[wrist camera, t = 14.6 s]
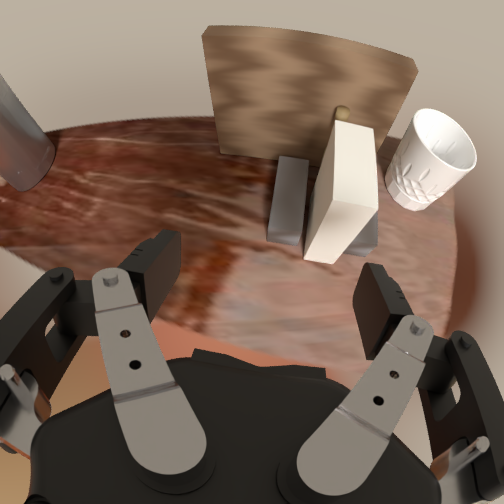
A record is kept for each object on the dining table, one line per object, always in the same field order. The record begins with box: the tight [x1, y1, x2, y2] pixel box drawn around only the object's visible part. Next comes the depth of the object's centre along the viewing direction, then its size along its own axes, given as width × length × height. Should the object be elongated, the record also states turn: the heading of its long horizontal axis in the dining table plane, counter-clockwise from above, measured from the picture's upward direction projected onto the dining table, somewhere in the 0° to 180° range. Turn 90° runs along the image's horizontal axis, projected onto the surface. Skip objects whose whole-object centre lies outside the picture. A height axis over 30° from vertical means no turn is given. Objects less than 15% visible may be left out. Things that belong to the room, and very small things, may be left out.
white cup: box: [385, 108, 477, 211], centre depth 26 cm, size 8×8×10 cm
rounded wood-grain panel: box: [202, 25, 418, 257], centre depth 23 cm, size 17×12×16 cm
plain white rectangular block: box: [303, 120, 378, 264], centre depth 23 cm, size 3×7×12 cm, turn 170°
